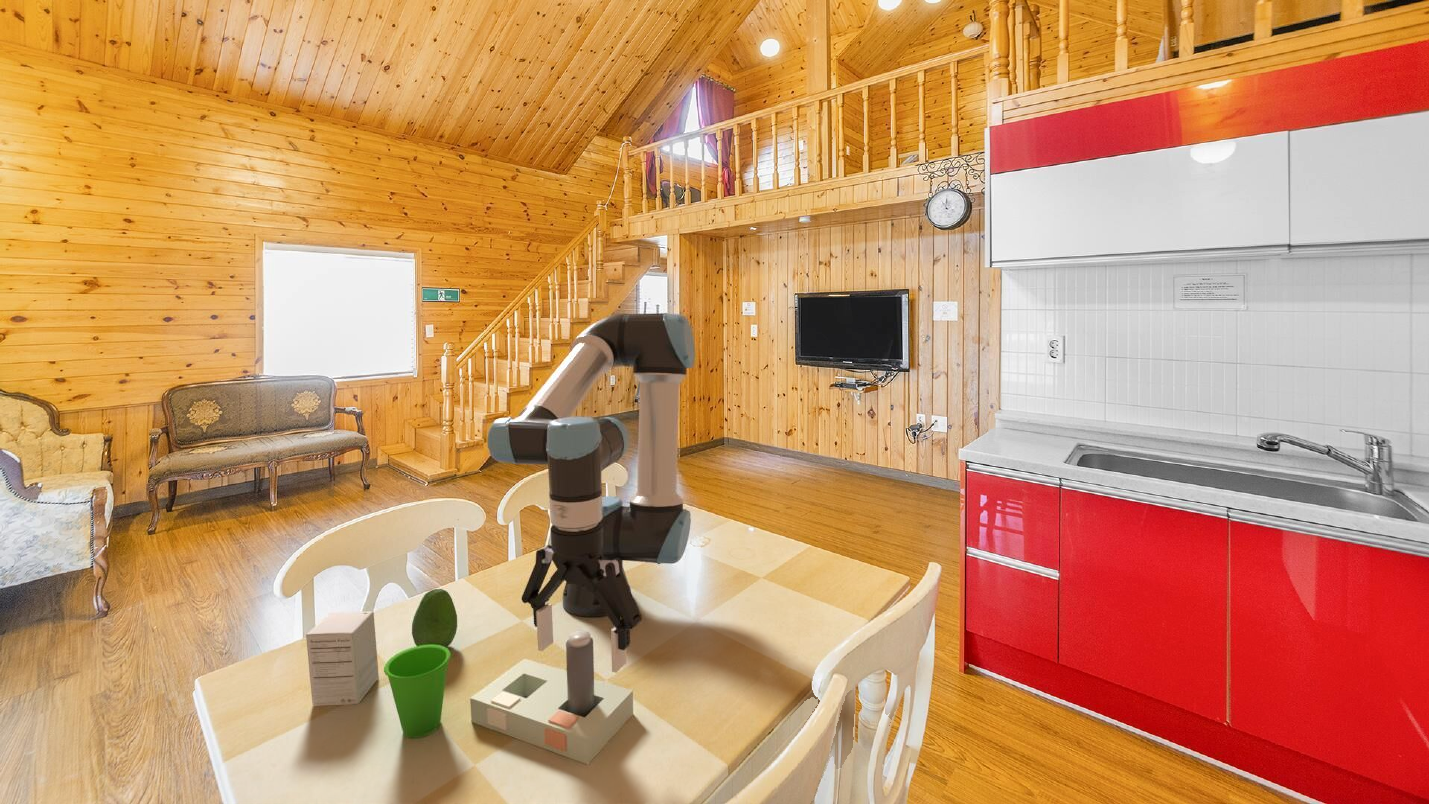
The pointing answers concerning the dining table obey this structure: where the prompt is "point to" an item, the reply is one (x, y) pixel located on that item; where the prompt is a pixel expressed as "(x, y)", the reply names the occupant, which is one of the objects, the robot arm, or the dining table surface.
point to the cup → (419, 687)
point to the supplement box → (342, 658)
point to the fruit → (435, 619)
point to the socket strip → (550, 711)
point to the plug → (580, 673)
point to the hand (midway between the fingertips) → (581, 656)
